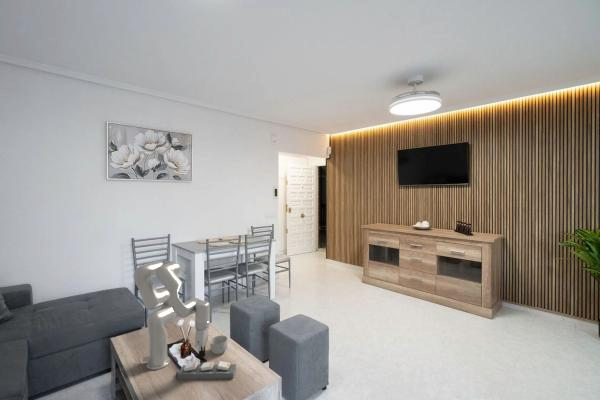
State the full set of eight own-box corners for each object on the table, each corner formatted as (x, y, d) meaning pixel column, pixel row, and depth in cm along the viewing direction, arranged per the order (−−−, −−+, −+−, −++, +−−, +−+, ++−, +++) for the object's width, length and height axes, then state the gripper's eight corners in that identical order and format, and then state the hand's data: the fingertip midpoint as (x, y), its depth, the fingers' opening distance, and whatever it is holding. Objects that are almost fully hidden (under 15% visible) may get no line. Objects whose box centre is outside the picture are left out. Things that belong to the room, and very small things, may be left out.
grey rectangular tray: (173, 379, 154) (173, 372, 154) (179, 370, 162) (179, 364, 162) (233, 378, 155) (233, 371, 155) (236, 369, 163) (236, 362, 163)
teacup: (222, 357, 175) (222, 344, 175) (206, 355, 177) (206, 342, 177) (232, 345, 189) (232, 333, 188) (217, 343, 191) (217, 332, 191)
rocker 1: (184, 371, 156) (183, 368, 156) (187, 366, 161) (186, 363, 160) (195, 368, 156) (194, 365, 156) (198, 363, 161) (197, 361, 161)
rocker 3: (217, 368, 157) (218, 365, 157) (219, 363, 161) (220, 360, 161) (228, 370, 157) (228, 367, 157) (229, 365, 161) (230, 362, 161)
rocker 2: (201, 370, 156) (200, 367, 156) (203, 365, 161) (203, 362, 161) (212, 369, 157) (211, 366, 157) (214, 364, 161) (213, 361, 161)
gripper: (199, 318, 165) (199, 348, 166) (190, 331, 150) (190, 364, 151) (212, 318, 165) (212, 349, 166) (205, 331, 151) (204, 364, 151)
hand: (201, 356), depth 159 cm, fingers closed
